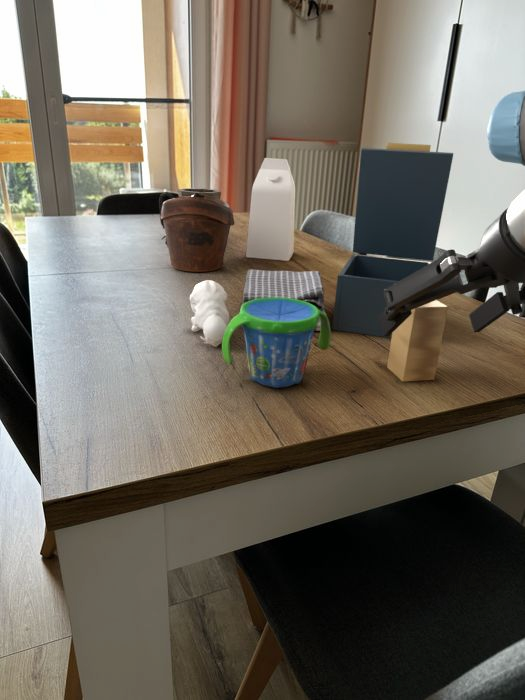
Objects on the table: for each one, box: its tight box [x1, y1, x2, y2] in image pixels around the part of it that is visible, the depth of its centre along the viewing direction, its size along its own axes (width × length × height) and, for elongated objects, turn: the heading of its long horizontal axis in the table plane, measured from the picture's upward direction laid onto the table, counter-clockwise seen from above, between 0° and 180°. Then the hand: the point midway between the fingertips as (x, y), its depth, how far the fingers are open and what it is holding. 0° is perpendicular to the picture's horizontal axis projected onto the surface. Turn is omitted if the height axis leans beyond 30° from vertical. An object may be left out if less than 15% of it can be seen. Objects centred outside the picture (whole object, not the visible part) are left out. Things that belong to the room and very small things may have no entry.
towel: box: [241, 268, 328, 332], centre depth 96 cm, size 15×18×8 cm
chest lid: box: [352, 142, 454, 262], centre depth 100 cm, size 21×16×10 cm
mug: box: [158, 187, 222, 230], centre depth 162 cm, size 20×14×15 cm
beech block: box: [386, 300, 449, 383], centre depth 73 cm, size 5×5×11 cm
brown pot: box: [159, 193, 235, 273], centre depth 127 cm, size 18×20×18 cm
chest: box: [331, 253, 433, 339], centre depth 96 cm, size 20×16×10 cm
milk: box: [245, 157, 296, 262], centre depth 143 cm, size 12×12×26 cm
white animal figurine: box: [189, 279, 230, 348], centre depth 83 cm, size 6×8×12 cm
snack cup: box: [221, 297, 332, 389], centre depth 70 cm, size 16×10×10 cm
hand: (429, 325), depth 69 cm, fingers open, 13 cm apart
